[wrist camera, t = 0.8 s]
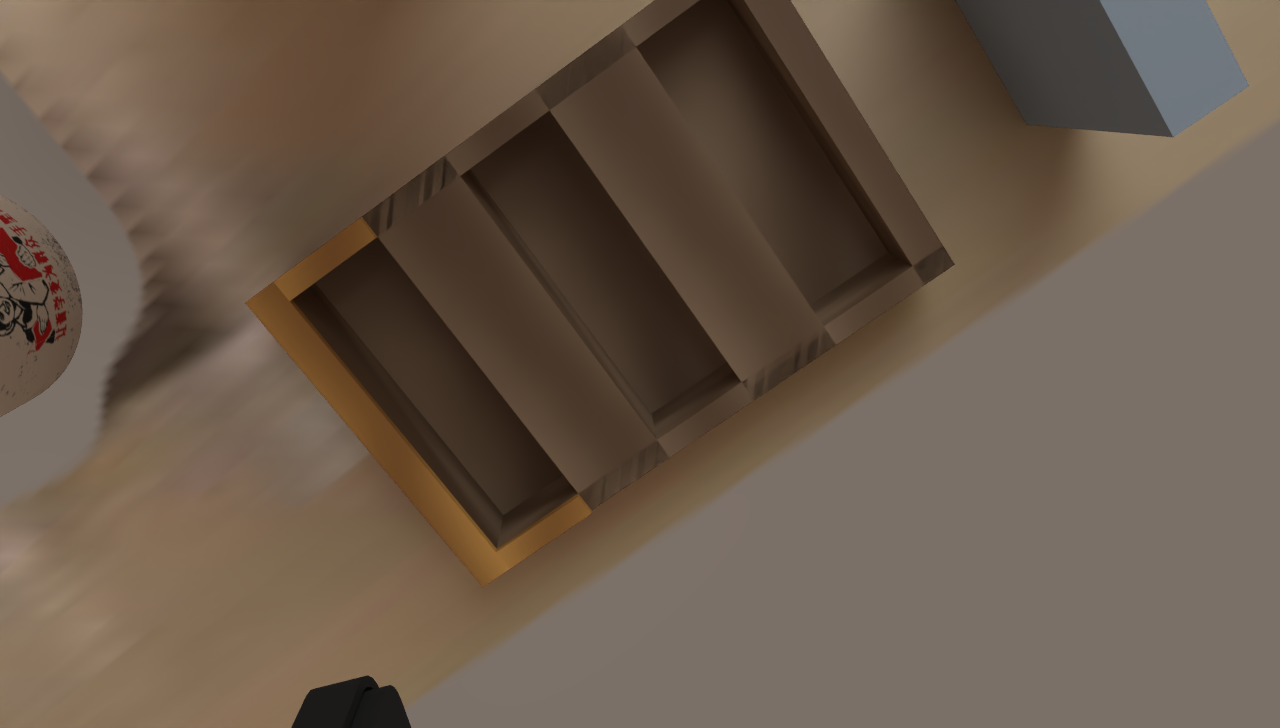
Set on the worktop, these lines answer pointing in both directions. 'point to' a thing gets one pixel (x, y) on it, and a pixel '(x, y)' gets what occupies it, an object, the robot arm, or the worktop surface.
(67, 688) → the worktop surface
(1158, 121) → the panel
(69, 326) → the teacup with lid
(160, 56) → the worktop surface
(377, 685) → the robot arm
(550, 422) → the rack
